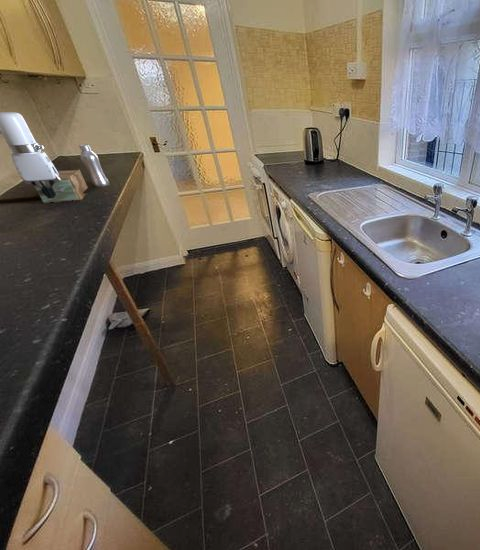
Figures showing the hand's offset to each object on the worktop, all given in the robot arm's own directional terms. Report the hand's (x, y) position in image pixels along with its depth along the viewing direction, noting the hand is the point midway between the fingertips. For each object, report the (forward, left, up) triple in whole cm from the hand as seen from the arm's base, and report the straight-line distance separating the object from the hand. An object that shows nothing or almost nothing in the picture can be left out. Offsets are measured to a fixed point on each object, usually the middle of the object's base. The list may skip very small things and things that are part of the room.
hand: (51, 197), depth 121 cm
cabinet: (0, +15, -4) cm, 16 cm away
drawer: (0, +11, -3) cm, 11 cm away
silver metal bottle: (+11, +26, -4) cm, 29 cm away
